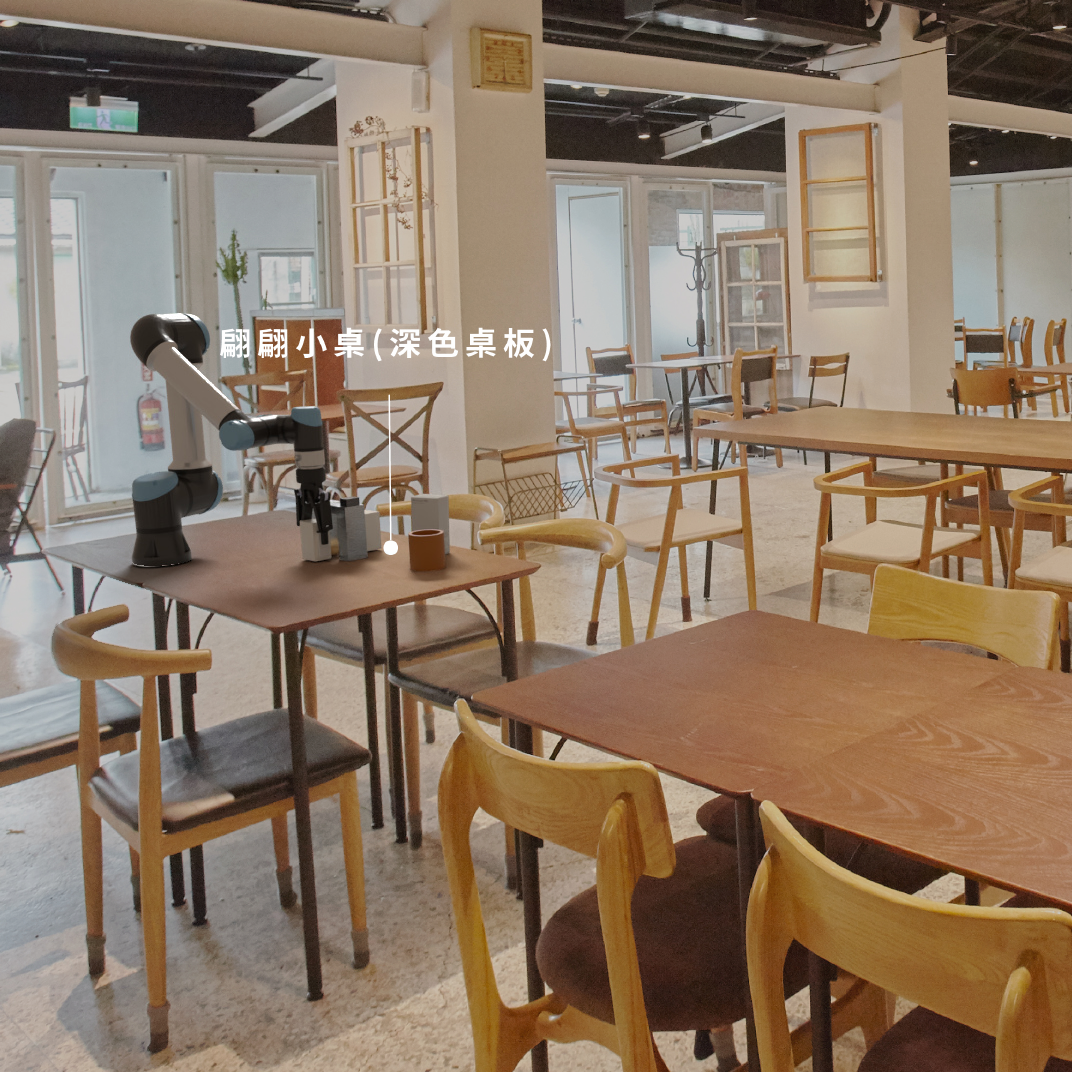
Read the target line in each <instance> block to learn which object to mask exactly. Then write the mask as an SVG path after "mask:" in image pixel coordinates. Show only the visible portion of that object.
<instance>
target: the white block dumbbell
mask: <svg viewBox="0 0 1072 1072" xmlns="http://www.w3.org/2000/svg"><path fill="white" fill-rule="evenodd" d="M364 512H365V527H366V542H367V552H370V551H376V550H381V549H382V548H383V547H382V536H381V535H382V531H381V519H380V511H376V510H369V509H364ZM299 530H300V531H299V532H300V542H301V543H300V545H301V546H300V547H301V556H302V559H303V560H307V561H312V562H318V561H319V562H320V561H324V560H330V559H332V556H335V555H339V545H335V546H331V544H330V530H329V531H328V547H329V556H327V557H322V558H319V555H318V541H317V532H316V531H318V526H317V521H316V518H314V519H308V520H302V521H301V520H300V526H299Z"/></svg>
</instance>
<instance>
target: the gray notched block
mask: <svg viewBox="0 0 1072 1072" xmlns="http://www.w3.org/2000/svg"><path fill="white" fill-rule="evenodd" d="M319 503H320V502H319ZM330 505H331V514H332V523H333V529H332V530H330V544H331V546H335V545H339V554H338V555H339V560H340V561H345V562H352V561H357V560H362V559H367V558H369V557H368V551H367V542H366V527H365V512H364V510H365V504H362V503H360V497H359V496H347V497H346V496H345V497H339V500H335V499H330ZM314 518H316V517H315V513H314V509H313V511H312V519H314Z"/></svg>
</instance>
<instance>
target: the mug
mask: <svg viewBox="0 0 1072 1072" xmlns="http://www.w3.org/2000/svg"><path fill="white" fill-rule="evenodd" d="M407 536H408V551H409V553H408V554H409V565H410V566H409V569H410V570H411V571H414V572H433V571H434V572H437V571H439V570H442V569H443V570H444V569H445V568H447V566H446V565H447V563H446V562H447V561H446V555H445V544H444V531H442V530H436V529H426V530H417V531H412V530H411V531H409V532H408V533H407Z"/></svg>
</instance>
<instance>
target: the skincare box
mask: <svg viewBox="0 0 1072 1072" xmlns="http://www.w3.org/2000/svg"><path fill="white" fill-rule="evenodd" d="M449 498H450V497H449V495H445V494H436V493H435V494H434V493H432V494H431V493H420V494H416V495H412V496H410V509H411V510H410V511H411V512H410V513H411V532H412V531H417V530H426V529H436V530H442V531H444V544H445V556H446V555H448V554H450V553H451V552H450V551H451V546H450V543H451V542H450V541H451V540H450V508H449V507H450V506H449V505H450V504H449V502H450V501H449V500H450V499H449Z"/></svg>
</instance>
